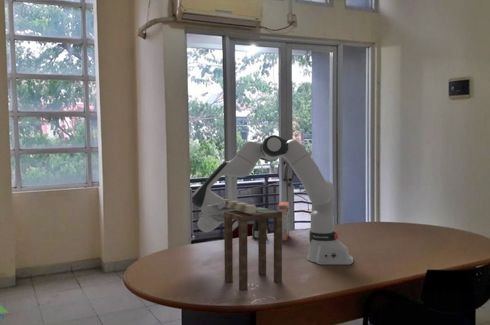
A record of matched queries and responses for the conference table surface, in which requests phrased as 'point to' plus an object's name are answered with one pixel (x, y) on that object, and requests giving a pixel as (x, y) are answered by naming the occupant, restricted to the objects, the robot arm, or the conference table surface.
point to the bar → (240, 206)
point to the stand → (228, 243)
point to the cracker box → (284, 219)
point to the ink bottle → (256, 230)
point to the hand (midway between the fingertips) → (230, 202)
